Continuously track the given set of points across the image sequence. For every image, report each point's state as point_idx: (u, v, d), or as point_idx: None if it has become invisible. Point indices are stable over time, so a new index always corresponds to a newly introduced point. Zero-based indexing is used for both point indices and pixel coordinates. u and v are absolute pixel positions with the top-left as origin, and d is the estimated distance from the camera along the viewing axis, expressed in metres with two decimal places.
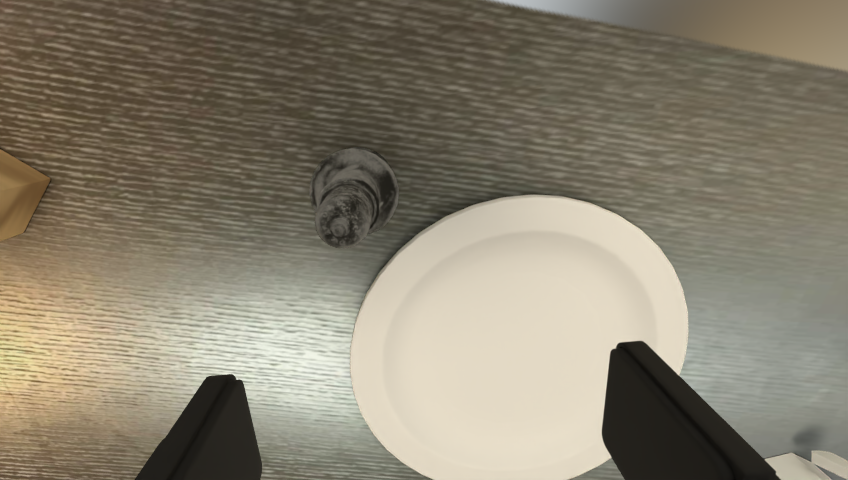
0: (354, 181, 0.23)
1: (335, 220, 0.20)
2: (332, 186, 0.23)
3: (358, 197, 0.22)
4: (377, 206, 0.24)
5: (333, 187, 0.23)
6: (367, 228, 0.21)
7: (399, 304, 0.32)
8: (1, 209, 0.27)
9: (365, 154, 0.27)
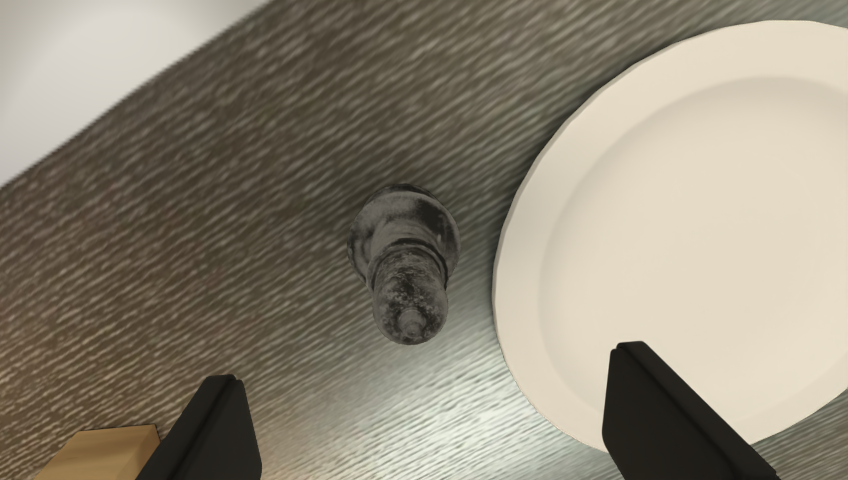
0: (390, 247, 0.17)
1: (400, 319, 0.14)
2: (373, 269, 0.18)
3: (406, 268, 0.15)
4: (436, 252, 0.18)
5: (374, 270, 0.18)
6: (443, 296, 0.15)
7: (537, 315, 0.25)
8: None
9: (383, 201, 0.21)
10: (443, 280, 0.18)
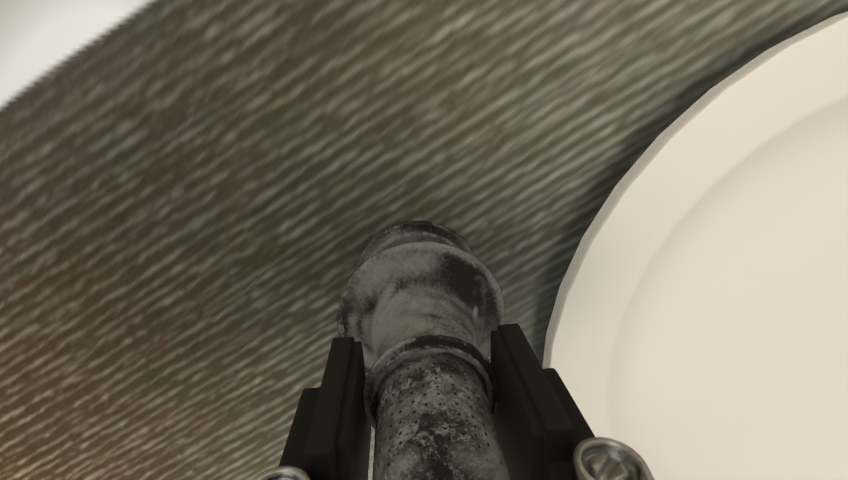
0: (404, 353, 0.10)
1: None
2: (374, 387, 0.10)
3: (435, 416, 0.08)
4: (479, 359, 0.11)
5: (377, 388, 0.10)
6: (505, 478, 0.08)
7: (605, 404, 0.18)
8: None
9: (391, 256, 0.14)
10: (490, 401, 0.11)
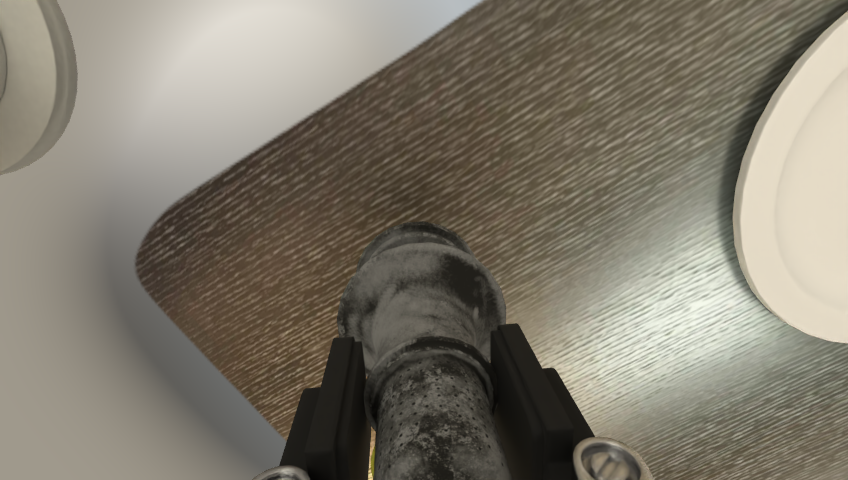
0: (404, 354, 0.10)
1: None
2: (374, 389, 0.10)
3: (436, 418, 0.08)
4: (480, 360, 0.11)
5: (377, 389, 0.10)
6: None
7: (774, 203, 0.30)
8: None
9: (391, 257, 0.14)
10: (491, 403, 0.11)
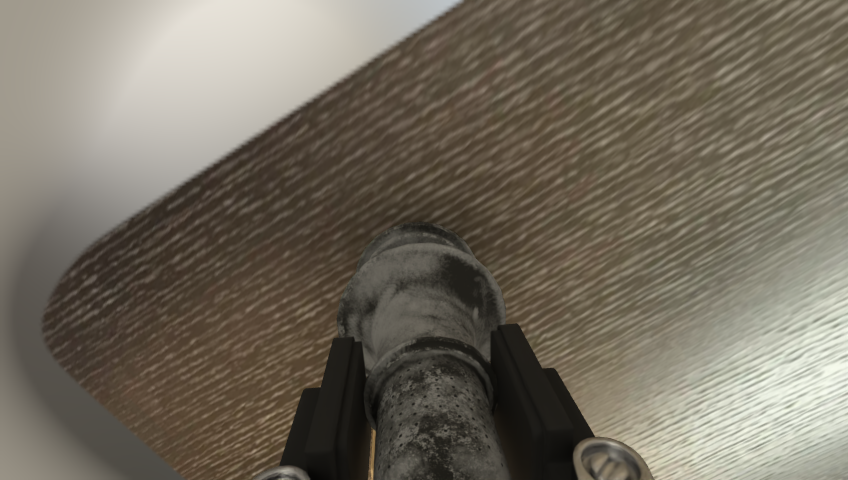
0: (404, 354, 0.10)
1: None
2: (374, 389, 0.10)
3: (435, 419, 0.08)
4: (480, 360, 0.11)
5: (377, 390, 0.10)
6: None
7: None
8: None
9: (391, 257, 0.14)
10: (491, 403, 0.11)
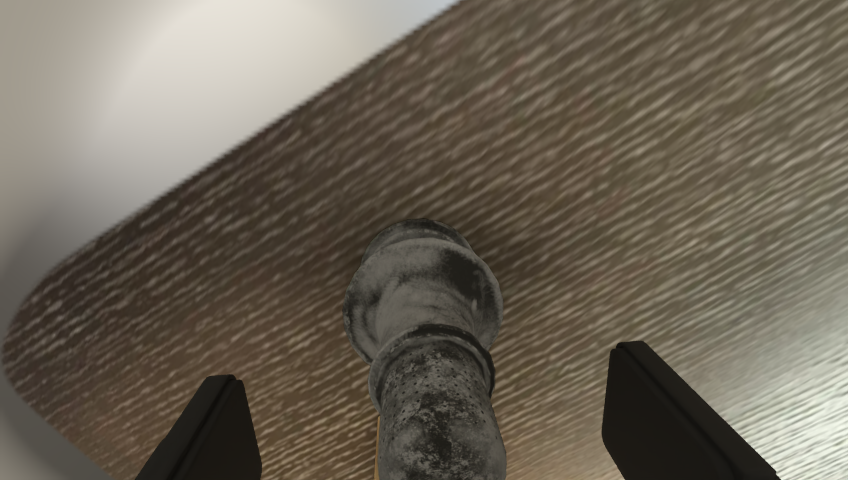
0: (407, 339, 0.11)
1: None
2: (379, 373, 0.11)
3: (436, 396, 0.09)
4: (477, 346, 0.11)
5: (381, 373, 0.11)
6: (500, 452, 0.09)
7: None
8: None
9: (394, 251, 0.14)
10: (487, 387, 0.12)
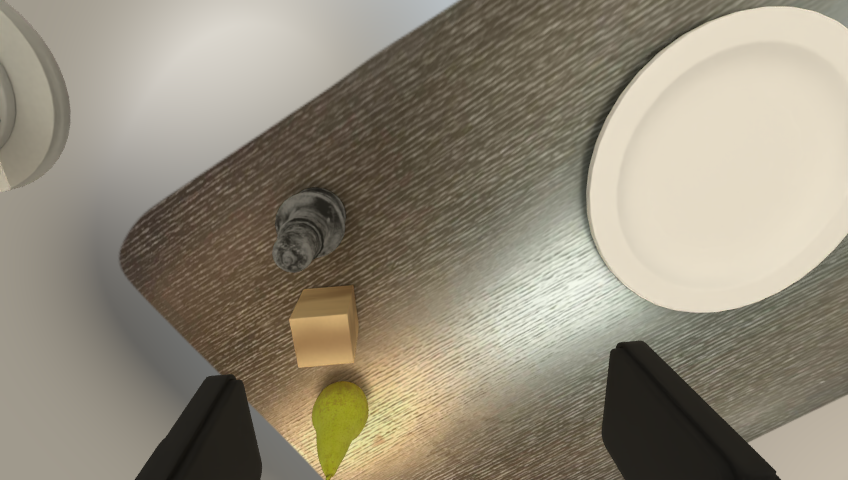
0: (289, 223, 0.32)
1: (283, 256, 0.29)
2: (280, 235, 0.32)
3: (290, 232, 0.30)
4: (315, 226, 0.32)
5: (281, 235, 0.32)
6: (307, 246, 0.29)
7: (616, 202, 0.38)
8: (352, 316, 0.39)
9: (294, 198, 0.35)
10: (320, 241, 0.32)
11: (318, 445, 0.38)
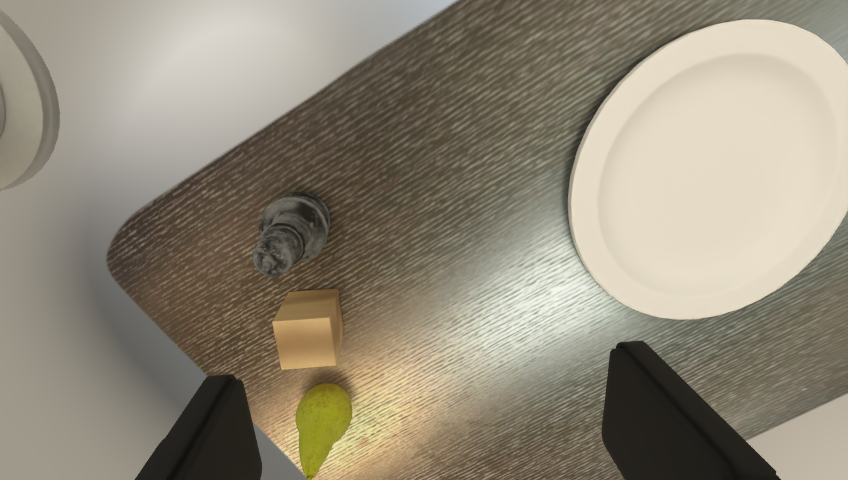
0: (271, 227, 0.32)
1: (263, 261, 0.29)
2: (262, 240, 0.32)
3: (271, 237, 0.30)
4: (296, 231, 0.32)
5: None
6: (287, 251, 0.30)
7: (597, 209, 0.39)
8: (336, 319, 0.40)
9: (278, 202, 0.35)
10: (302, 246, 0.33)
11: (300, 447, 0.38)
